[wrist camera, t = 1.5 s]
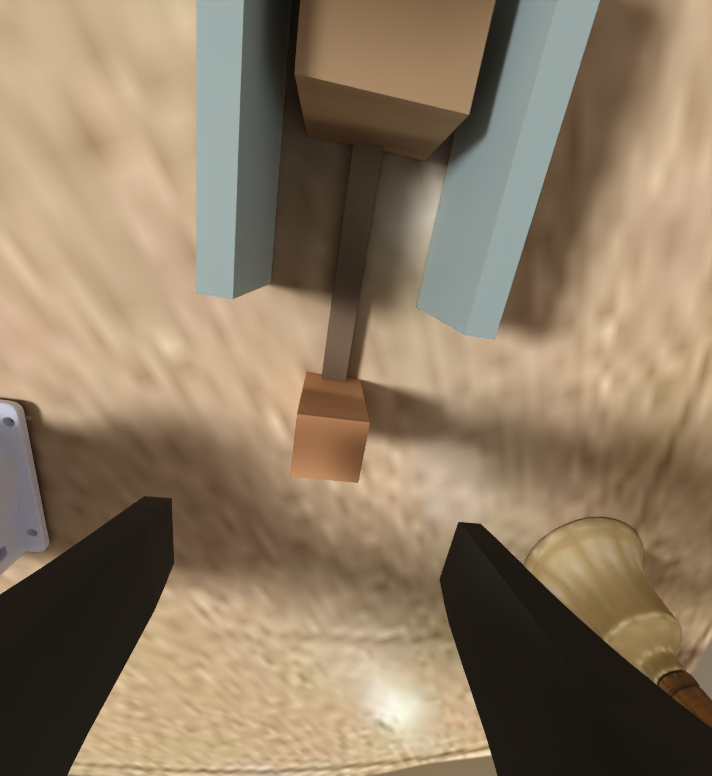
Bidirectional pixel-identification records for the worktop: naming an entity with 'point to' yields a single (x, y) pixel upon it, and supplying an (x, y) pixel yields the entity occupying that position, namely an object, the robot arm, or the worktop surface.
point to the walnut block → (372, 164)
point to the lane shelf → (464, 170)
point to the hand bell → (617, 601)
